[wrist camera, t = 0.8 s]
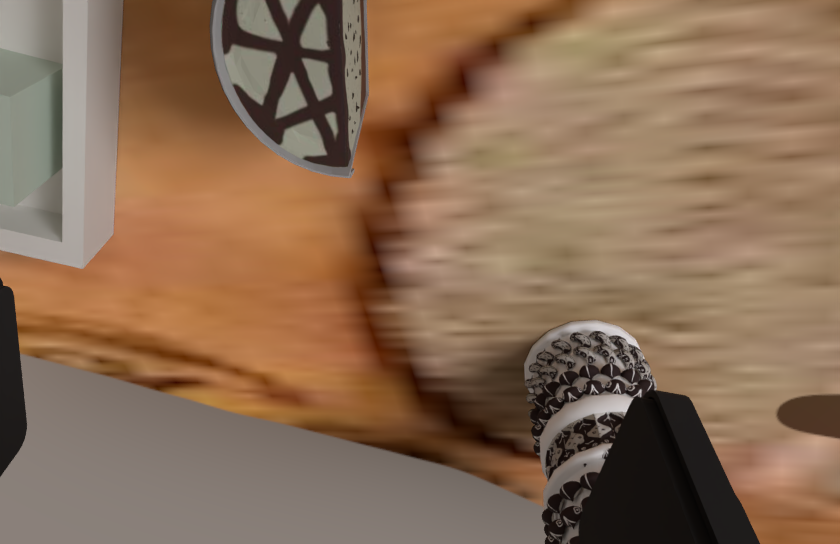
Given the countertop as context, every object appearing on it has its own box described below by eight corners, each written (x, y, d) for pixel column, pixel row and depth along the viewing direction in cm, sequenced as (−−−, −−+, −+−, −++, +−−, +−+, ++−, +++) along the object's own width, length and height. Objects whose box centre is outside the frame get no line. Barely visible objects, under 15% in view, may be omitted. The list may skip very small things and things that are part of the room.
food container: (241, -121, 36) (176, -114, 27) (363, -119, 36) (337, -111, 27) (265, 117, 42) (218, 185, 34) (369, 120, 42) (349, 188, 33)
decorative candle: (638, 300, 48) (798, 669, 26) (658, 403, 52) (808, 793, 30) (504, 331, 49) (550, 703, 28) (534, 429, 54) (594, 816, 32)
